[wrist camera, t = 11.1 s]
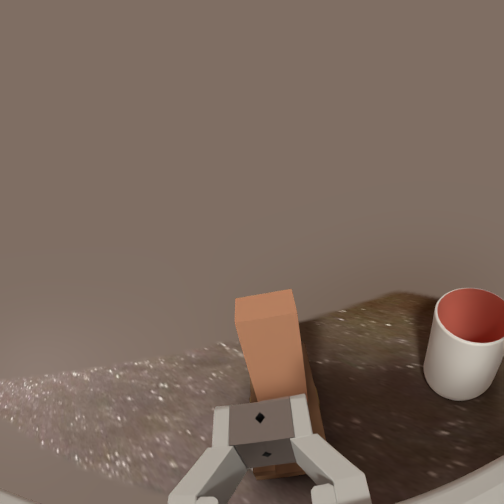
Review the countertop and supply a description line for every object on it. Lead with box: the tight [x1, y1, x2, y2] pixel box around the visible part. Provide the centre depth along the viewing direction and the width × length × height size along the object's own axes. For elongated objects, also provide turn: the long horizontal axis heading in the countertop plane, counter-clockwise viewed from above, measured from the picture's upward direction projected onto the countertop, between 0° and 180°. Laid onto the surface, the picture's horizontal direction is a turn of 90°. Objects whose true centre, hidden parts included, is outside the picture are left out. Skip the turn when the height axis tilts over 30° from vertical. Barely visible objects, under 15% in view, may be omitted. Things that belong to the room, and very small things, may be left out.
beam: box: [250, 343, 326, 480], centre depth 33 cm, size 7×17×4 cm, turn 2°
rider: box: [235, 289, 308, 402], centre depth 30 cm, size 5×4×13 cm
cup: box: [424, 288, 504, 401], centre depth 30 cm, size 10×10×10 cm
